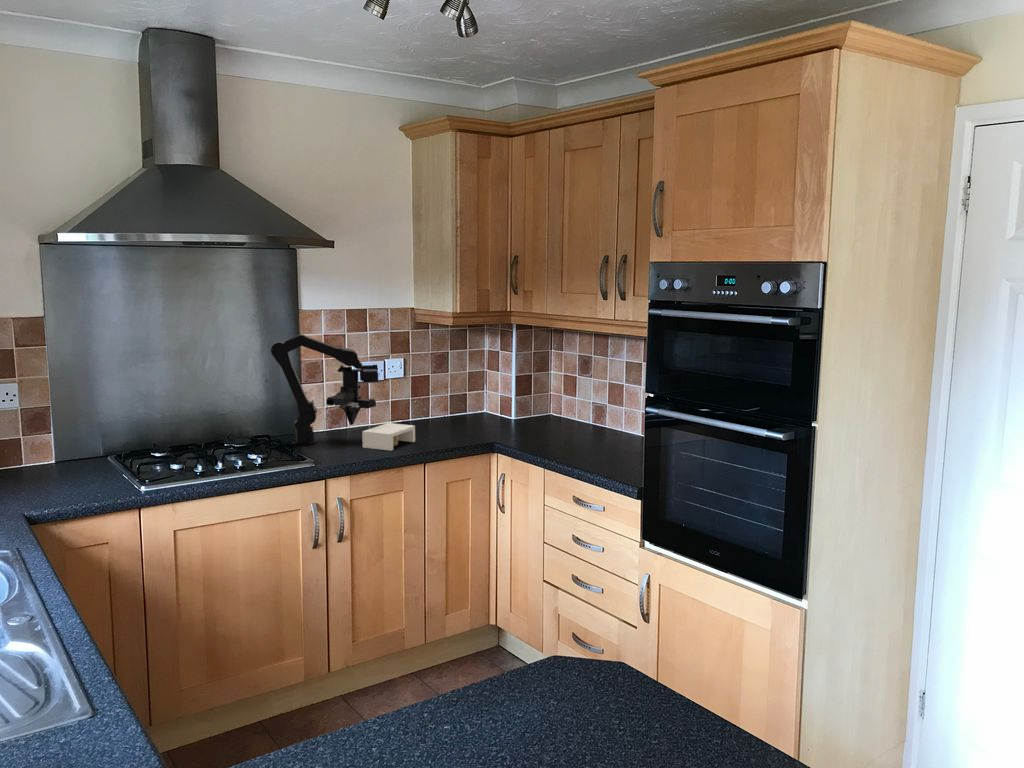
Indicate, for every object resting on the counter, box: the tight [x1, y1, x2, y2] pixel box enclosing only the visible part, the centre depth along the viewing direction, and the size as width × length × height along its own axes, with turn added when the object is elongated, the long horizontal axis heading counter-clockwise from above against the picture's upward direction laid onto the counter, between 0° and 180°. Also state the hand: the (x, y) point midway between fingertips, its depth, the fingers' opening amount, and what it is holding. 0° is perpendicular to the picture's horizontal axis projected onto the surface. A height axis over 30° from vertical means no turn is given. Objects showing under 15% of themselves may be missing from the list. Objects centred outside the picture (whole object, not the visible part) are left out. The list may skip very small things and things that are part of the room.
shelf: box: [361, 422, 416, 452], centre depth 307 cm, size 12×17×6 cm
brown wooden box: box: [393, 435, 399, 447], centre depth 307 cm, size 10×6×4 cm, turn 67°
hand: (351, 424), depth 312 cm, fingers closed
